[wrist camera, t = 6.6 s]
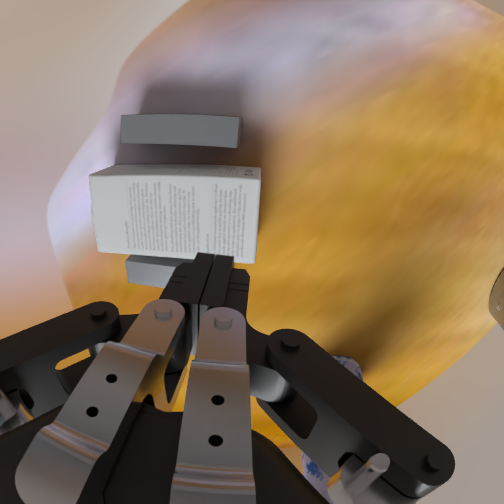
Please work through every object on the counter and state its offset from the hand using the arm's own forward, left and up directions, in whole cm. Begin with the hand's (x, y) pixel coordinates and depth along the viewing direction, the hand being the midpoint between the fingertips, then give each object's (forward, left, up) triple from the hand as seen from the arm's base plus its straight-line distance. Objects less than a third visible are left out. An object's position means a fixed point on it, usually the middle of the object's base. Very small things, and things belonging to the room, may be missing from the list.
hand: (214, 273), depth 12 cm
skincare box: (-2, 0, -9) cm, 10 cm away
